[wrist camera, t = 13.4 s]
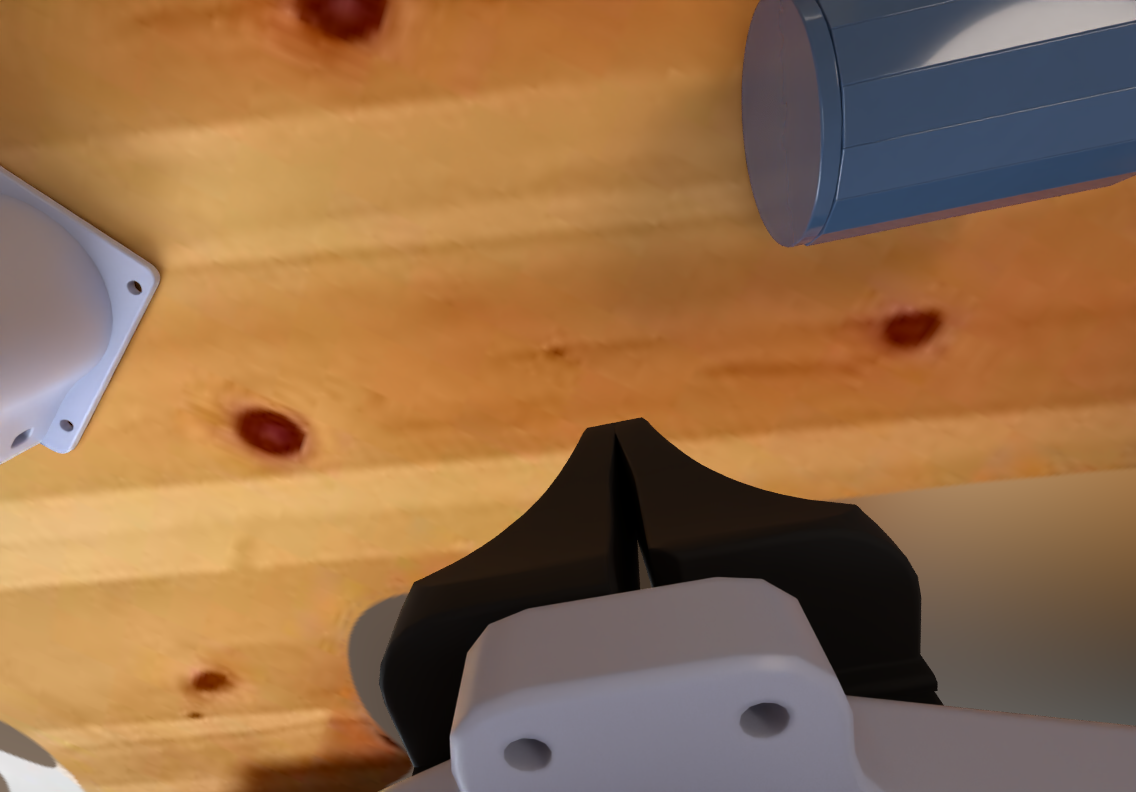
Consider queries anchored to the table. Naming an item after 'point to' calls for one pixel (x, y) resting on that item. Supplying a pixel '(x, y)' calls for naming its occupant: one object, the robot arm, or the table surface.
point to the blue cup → (932, 109)
